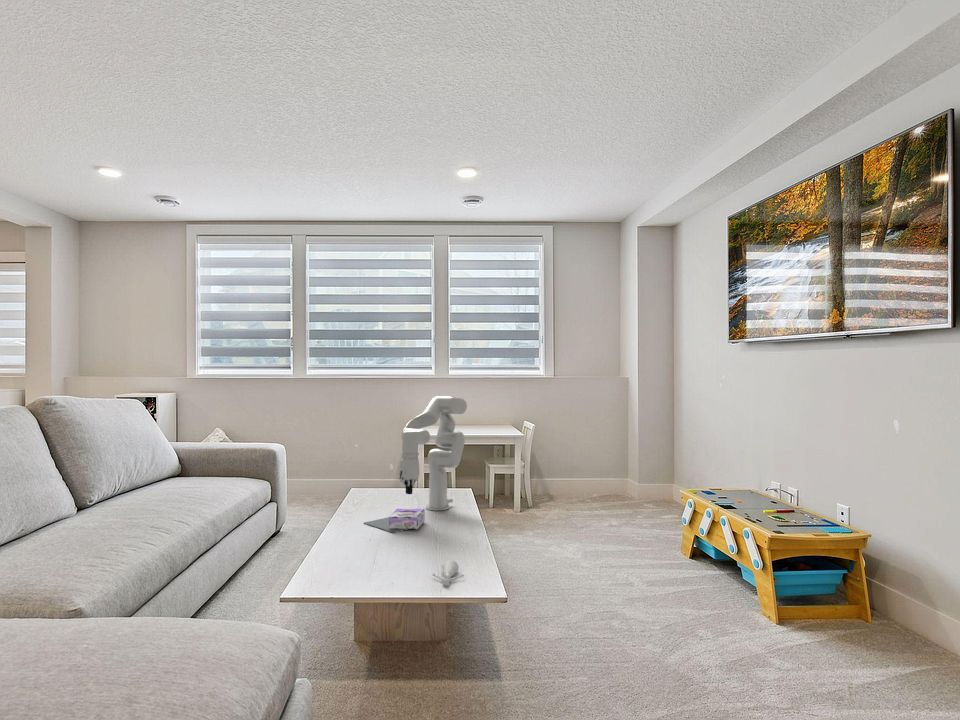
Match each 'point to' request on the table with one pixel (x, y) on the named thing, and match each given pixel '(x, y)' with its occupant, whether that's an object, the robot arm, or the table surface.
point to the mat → (382, 524)
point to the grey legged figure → (448, 572)
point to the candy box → (406, 519)
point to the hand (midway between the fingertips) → (408, 493)
